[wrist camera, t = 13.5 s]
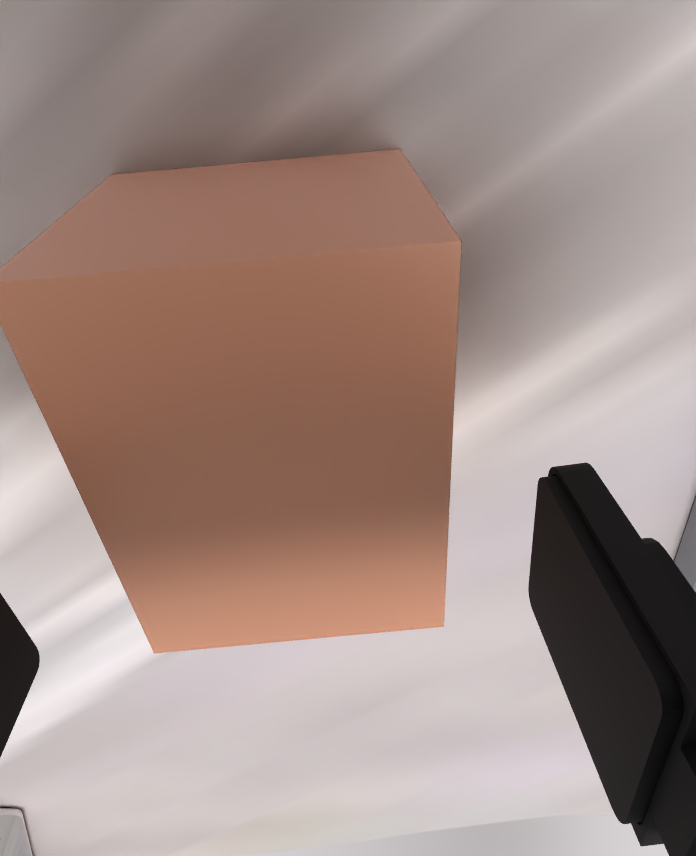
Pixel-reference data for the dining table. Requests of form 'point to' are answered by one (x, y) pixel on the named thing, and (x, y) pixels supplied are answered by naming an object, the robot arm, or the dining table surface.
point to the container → (13, 834)
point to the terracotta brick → (253, 391)
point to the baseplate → (688, 550)
